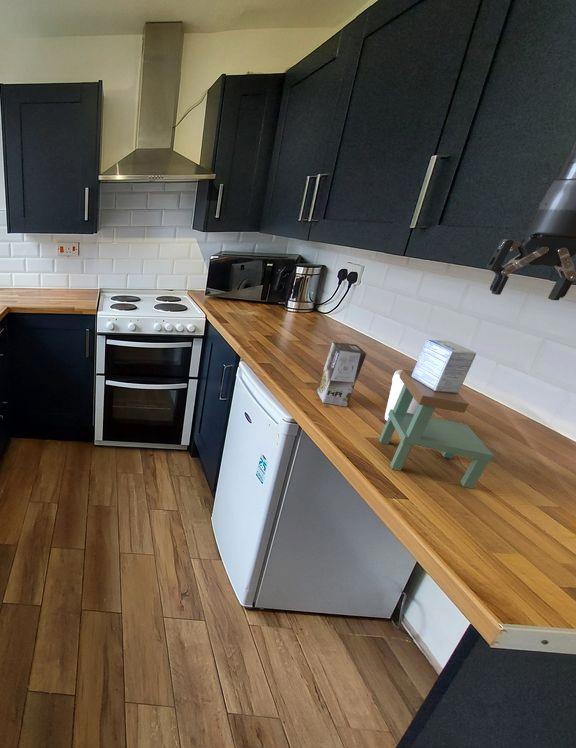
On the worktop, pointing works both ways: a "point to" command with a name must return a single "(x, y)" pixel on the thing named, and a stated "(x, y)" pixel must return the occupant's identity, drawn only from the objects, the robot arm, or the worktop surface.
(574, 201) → the robot arm
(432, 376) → the medicine box
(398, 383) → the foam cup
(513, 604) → the worktop surface
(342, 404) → the coffee box
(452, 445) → the step stool
